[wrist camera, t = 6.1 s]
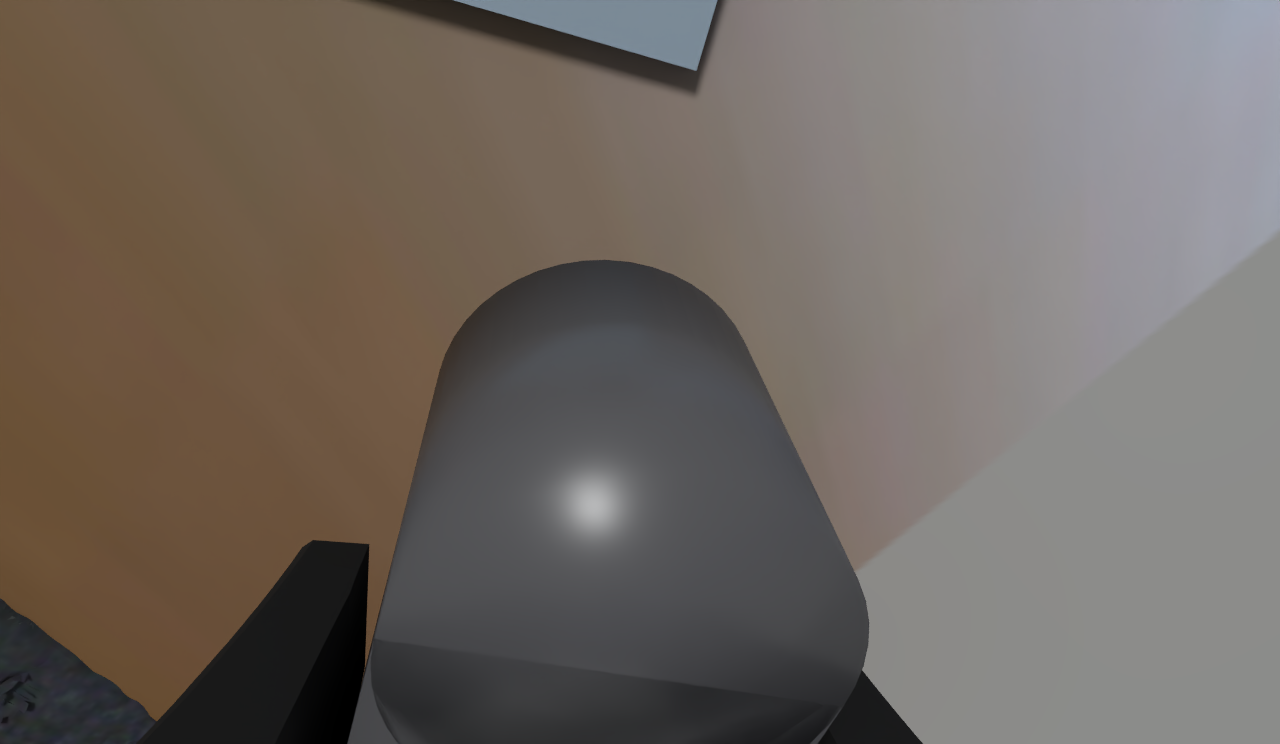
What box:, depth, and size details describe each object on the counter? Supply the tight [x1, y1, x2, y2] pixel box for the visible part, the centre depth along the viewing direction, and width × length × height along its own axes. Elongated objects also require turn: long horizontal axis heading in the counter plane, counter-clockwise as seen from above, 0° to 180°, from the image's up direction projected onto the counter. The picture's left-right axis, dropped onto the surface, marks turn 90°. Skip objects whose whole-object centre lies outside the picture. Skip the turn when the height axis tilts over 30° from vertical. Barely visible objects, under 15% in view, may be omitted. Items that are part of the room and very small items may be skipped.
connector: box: [347, 260, 869, 744], centre depth 9 cm, size 4×10×4 cm, turn 161°
